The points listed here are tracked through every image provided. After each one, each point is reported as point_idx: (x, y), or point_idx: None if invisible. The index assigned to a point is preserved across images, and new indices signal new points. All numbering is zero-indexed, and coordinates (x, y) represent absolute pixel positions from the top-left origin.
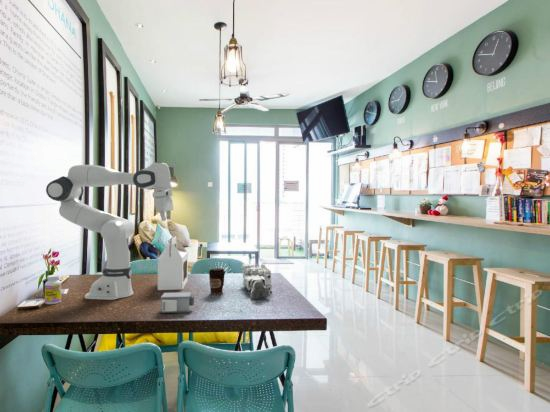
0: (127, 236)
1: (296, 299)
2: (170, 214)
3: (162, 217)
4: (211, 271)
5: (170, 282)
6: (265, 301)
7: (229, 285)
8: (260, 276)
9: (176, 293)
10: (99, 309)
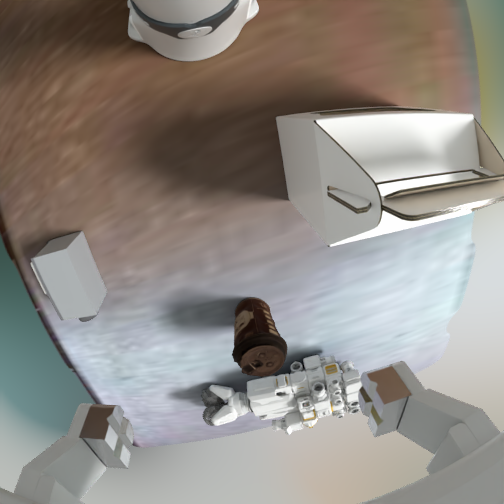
0: None
1: (224, 431)
2: (424, 438)
3: (76, 445)
4: (241, 350)
5: (289, 165)
6: (199, 402)
7: (341, 315)
8: (283, 412)
9: (72, 283)
10: (44, 68)
